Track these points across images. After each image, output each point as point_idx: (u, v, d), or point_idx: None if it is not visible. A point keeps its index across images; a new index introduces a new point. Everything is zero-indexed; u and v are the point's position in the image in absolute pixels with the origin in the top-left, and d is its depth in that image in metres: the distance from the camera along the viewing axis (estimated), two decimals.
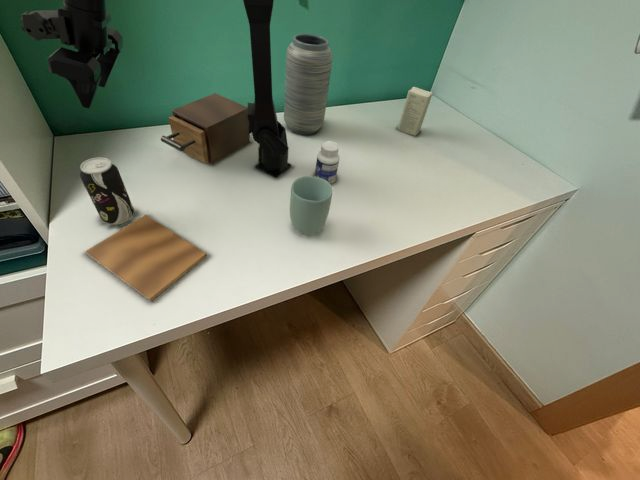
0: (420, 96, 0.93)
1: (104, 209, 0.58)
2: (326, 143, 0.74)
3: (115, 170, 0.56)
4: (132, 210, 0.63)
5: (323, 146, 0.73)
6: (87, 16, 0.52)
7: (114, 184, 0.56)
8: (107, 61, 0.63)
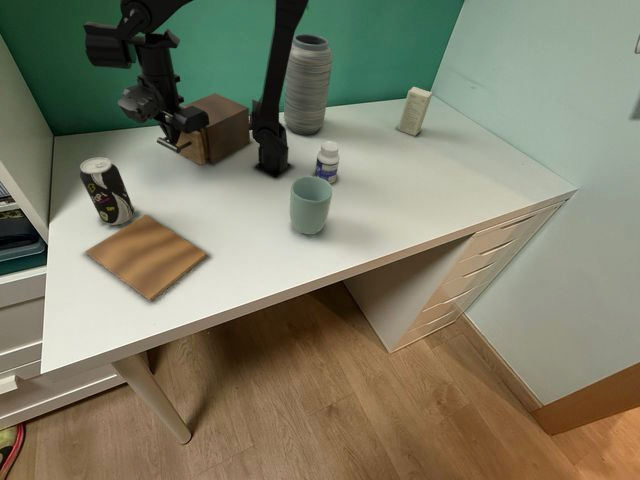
0: (420, 96, 0.93)
1: (104, 209, 0.58)
2: (326, 143, 0.74)
3: (115, 170, 0.56)
4: (132, 210, 0.63)
5: (323, 146, 0.73)
6: (172, 77, 0.62)
7: (114, 184, 0.56)
8: None
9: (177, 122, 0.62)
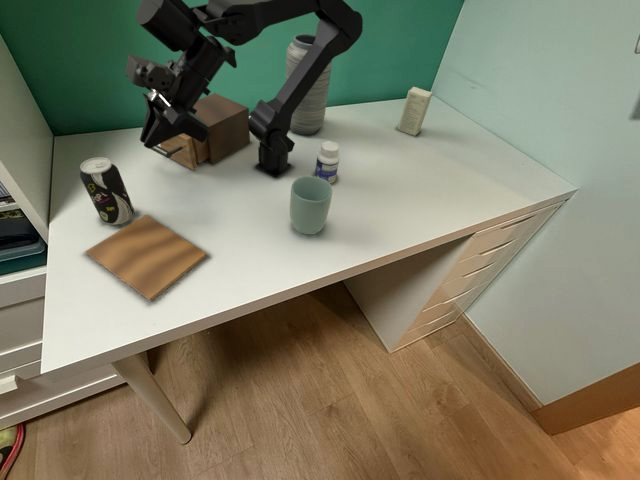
0: (420, 96, 0.93)
1: (104, 209, 0.58)
2: (326, 143, 0.74)
3: (115, 170, 0.56)
4: (132, 210, 0.63)
5: (323, 146, 0.73)
6: (204, 83, 0.55)
7: (114, 184, 0.56)
8: None
9: (173, 110, 0.50)
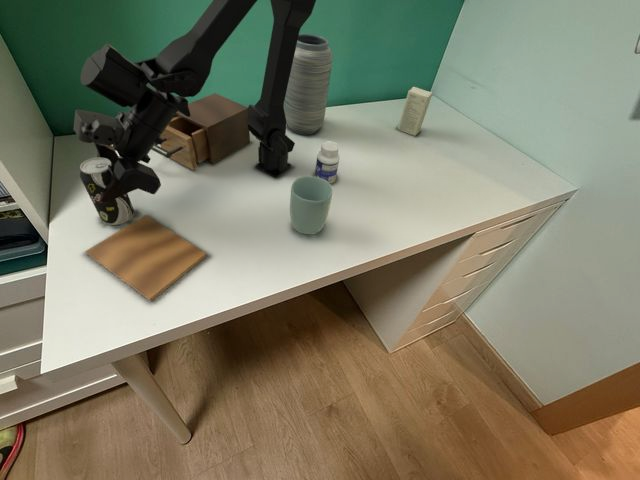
0: (420, 96, 0.93)
1: (104, 209, 0.58)
2: (326, 143, 0.74)
3: None
4: (132, 210, 0.63)
5: (323, 146, 0.73)
6: (155, 134, 0.55)
7: None
8: (116, 162, 0.60)
9: (120, 165, 0.50)
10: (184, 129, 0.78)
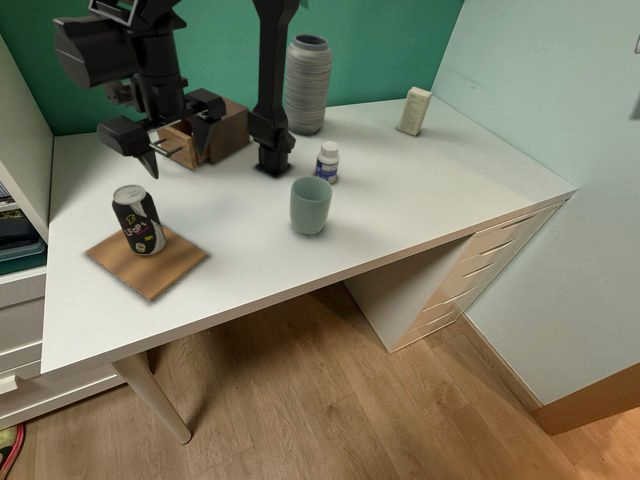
0: (420, 96, 0.93)
1: (142, 240, 0.53)
2: (326, 143, 0.74)
3: (149, 195, 0.52)
4: (164, 235, 0.58)
5: (323, 146, 0.73)
6: (146, 81, 0.43)
7: (152, 211, 0.52)
8: (202, 130, 0.54)
9: None
10: (184, 129, 0.78)
